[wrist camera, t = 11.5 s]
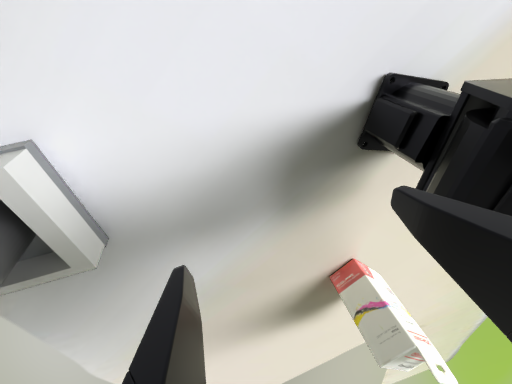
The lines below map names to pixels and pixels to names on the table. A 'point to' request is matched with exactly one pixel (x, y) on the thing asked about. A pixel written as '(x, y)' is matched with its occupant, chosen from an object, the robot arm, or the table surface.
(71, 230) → the white open box
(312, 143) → the table surface
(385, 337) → the ink cartridge box
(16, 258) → the gray cylindrical canister
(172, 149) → the table surface
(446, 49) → the table surface
